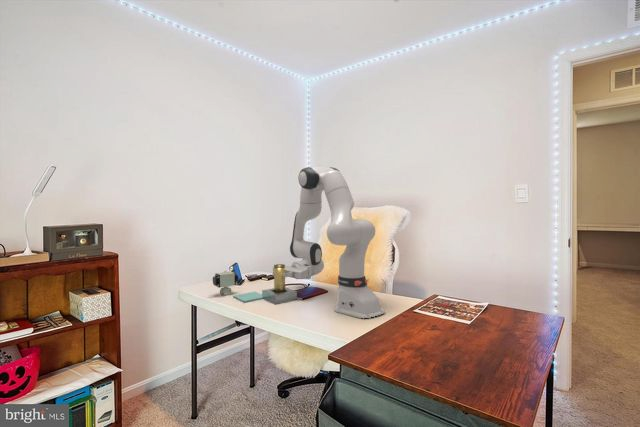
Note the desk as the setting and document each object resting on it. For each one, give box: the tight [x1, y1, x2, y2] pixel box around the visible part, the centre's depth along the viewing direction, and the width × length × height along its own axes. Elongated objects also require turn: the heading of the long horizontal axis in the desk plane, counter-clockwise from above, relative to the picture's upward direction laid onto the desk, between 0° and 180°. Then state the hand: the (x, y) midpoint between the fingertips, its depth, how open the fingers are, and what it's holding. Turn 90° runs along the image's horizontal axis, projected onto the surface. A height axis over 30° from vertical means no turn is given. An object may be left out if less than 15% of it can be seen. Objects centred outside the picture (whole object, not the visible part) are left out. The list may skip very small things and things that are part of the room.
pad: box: [232, 291, 264, 304], centre depth 163 cm, size 12×12×1 cm
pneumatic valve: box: [212, 270, 239, 297], centre depth 168 cm, size 6×12×12 cm, turn 128°
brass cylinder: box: [273, 263, 286, 293], centre depth 160 cm, size 5×5×14 cm
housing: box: [261, 286, 298, 305], centre depth 160 cm, size 12×12×4 cm
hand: (278, 274), depth 159 cm, fingers closed on brass cylinder, 5 cm apart
